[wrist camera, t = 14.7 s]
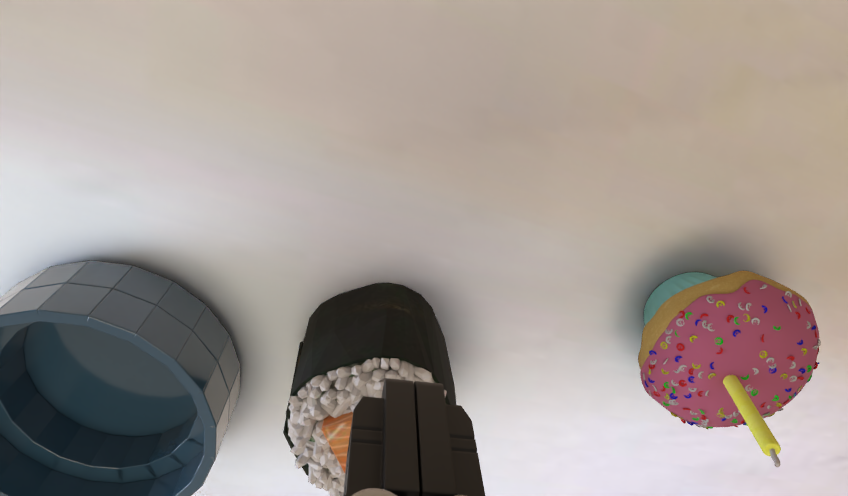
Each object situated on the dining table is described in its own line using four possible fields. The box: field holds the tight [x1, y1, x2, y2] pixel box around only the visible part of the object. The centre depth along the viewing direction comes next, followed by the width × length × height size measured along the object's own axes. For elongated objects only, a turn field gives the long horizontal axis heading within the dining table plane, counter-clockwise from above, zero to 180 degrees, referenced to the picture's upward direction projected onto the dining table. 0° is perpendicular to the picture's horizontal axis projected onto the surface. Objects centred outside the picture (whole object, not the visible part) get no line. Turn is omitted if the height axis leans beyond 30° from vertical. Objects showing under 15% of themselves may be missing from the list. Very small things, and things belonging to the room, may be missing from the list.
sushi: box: [283, 283, 456, 496], centre depth 29 cm, size 8×8×8 cm
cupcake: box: [638, 271, 821, 467], centre depth 27 cm, size 9×8×12 cm
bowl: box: [0, 261, 240, 496], centre depth 30 cm, size 13×13×6 cm
